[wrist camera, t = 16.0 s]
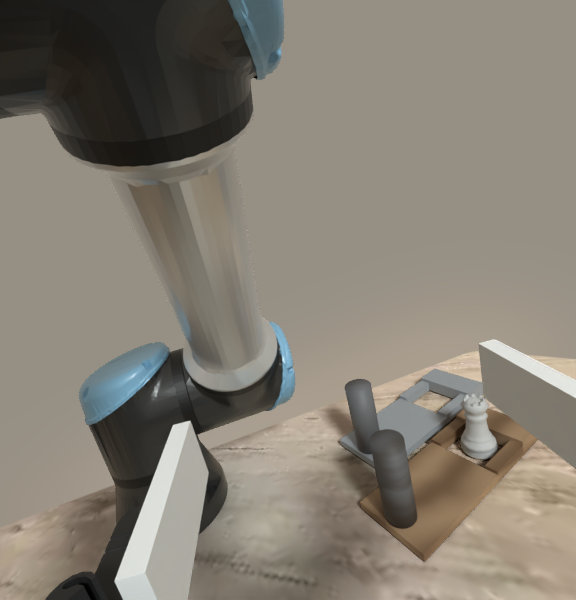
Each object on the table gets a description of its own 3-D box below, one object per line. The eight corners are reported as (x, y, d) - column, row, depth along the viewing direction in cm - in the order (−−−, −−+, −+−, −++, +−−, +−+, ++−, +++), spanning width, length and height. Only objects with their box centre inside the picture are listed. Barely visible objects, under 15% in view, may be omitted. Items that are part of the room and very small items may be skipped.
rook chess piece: (476, 466, 45) (470, 412, 43) (454, 445, 49) (447, 395, 47) (506, 454, 46) (502, 401, 44) (481, 435, 50) (476, 385, 48)
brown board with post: (361, 508, 43) (344, 432, 40) (472, 413, 54) (465, 349, 51) (424, 562, 35) (409, 472, 32) (538, 438, 47) (534, 364, 44)
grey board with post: (340, 444, 54) (326, 382, 52) (435, 378, 66) (428, 324, 63) (385, 474, 47) (371, 403, 44) (483, 393, 58) (477, 332, 55)
